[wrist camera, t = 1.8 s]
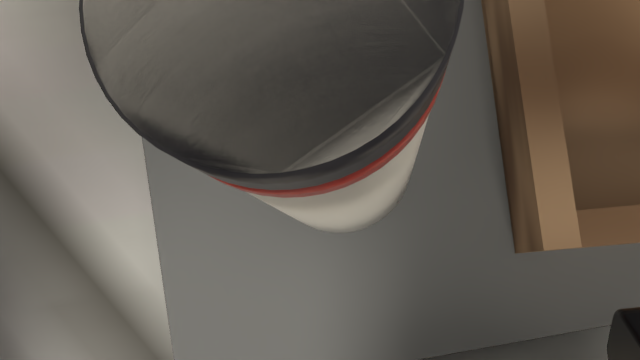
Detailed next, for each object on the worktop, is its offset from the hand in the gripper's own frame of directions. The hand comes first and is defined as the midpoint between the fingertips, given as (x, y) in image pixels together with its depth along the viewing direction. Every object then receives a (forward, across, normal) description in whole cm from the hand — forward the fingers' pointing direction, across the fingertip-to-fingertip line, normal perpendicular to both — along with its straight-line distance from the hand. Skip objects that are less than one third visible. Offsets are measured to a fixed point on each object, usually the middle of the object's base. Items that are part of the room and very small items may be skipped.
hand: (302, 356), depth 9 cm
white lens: (+11, 0, +4) cm, 12 cm away
